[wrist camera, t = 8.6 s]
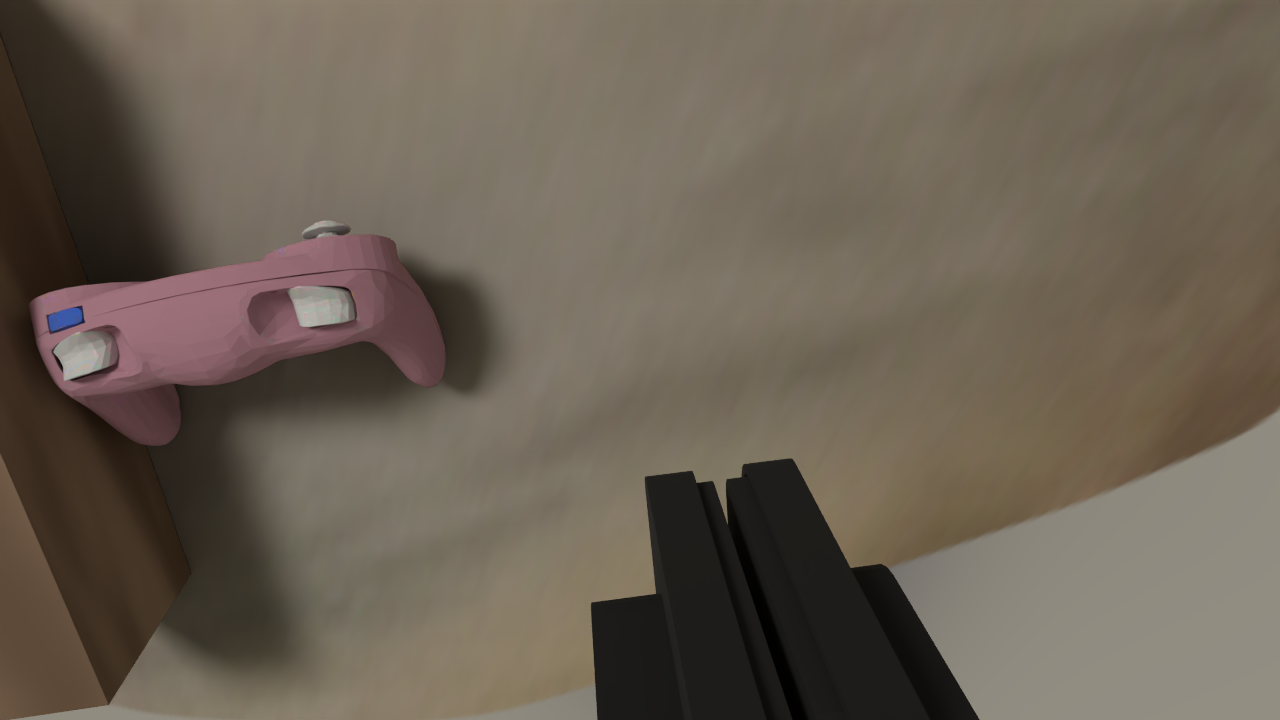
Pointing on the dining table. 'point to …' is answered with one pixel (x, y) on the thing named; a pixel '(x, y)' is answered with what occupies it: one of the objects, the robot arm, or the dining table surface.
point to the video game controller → (232, 326)
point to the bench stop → (64, 478)
